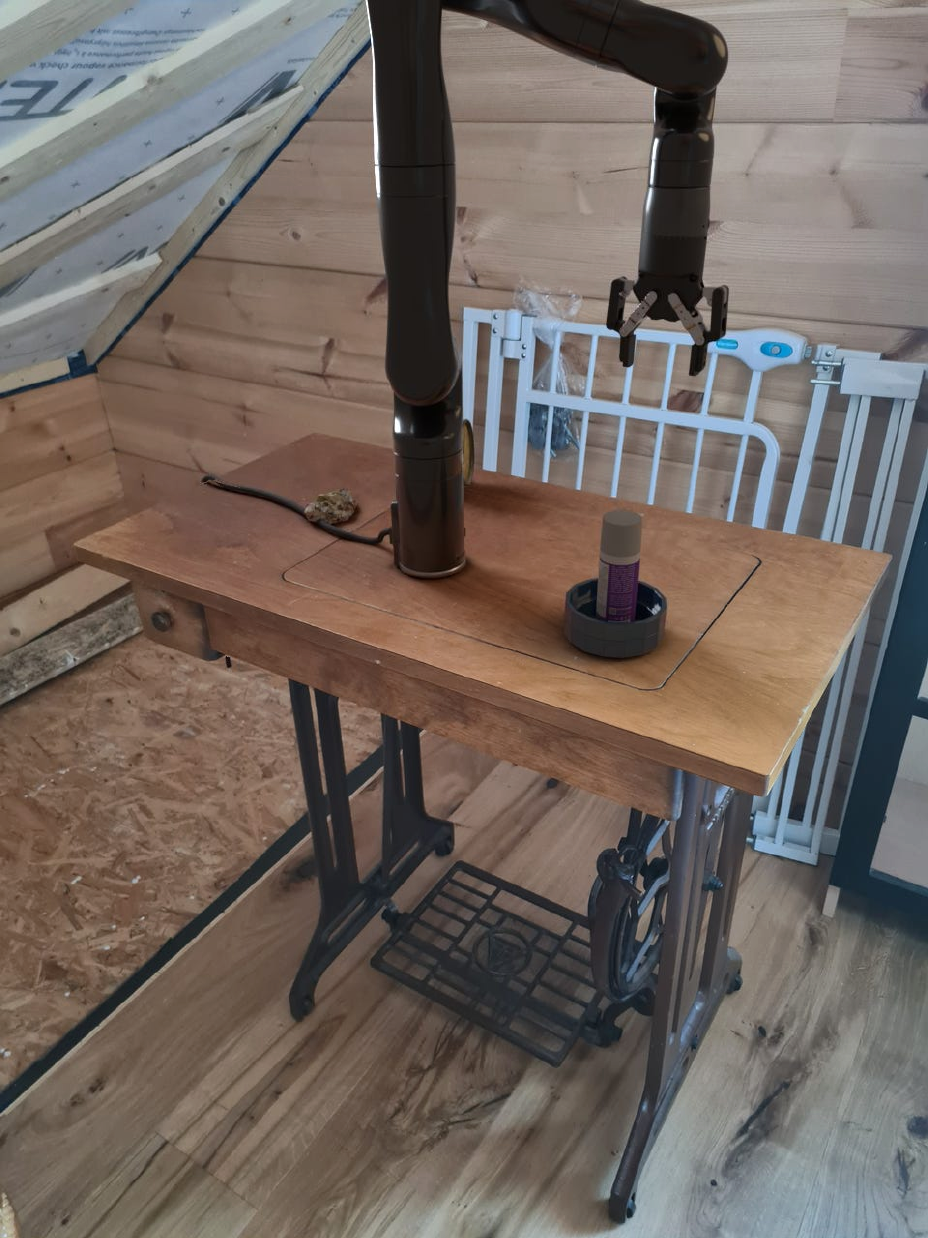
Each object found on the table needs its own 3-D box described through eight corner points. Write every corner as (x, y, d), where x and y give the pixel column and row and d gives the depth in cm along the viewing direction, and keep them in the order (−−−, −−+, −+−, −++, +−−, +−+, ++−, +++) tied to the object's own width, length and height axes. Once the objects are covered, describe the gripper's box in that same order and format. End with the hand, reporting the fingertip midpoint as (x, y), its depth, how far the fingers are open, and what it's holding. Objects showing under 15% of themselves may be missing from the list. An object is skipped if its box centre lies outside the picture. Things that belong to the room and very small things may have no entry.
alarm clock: (463, 502, 150) (461, 405, 142) (431, 500, 151) (427, 403, 143) (476, 478, 159) (475, 385, 151) (446, 476, 160) (443, 384, 152)
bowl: (547, 645, 111) (548, 609, 108) (588, 603, 120) (590, 569, 117) (641, 671, 105) (645, 634, 103) (677, 625, 114) (680, 590, 112)
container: (639, 627, 113) (649, 514, 105) (624, 644, 109) (633, 529, 102) (605, 617, 115) (612, 506, 108) (588, 634, 112) (594, 520, 104)
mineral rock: (338, 516, 140) (294, 495, 142) (333, 540, 142) (290, 519, 144) (373, 494, 149) (331, 474, 150) (368, 517, 151) (327, 497, 153)
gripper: (603, 229, 106) (595, 370, 114) (726, 236, 99) (707, 385, 107) (628, 222, 111) (618, 357, 119) (745, 228, 105) (726, 370, 113)
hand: (660, 370), depth 113 cm, fingers open, 8 cm apart
